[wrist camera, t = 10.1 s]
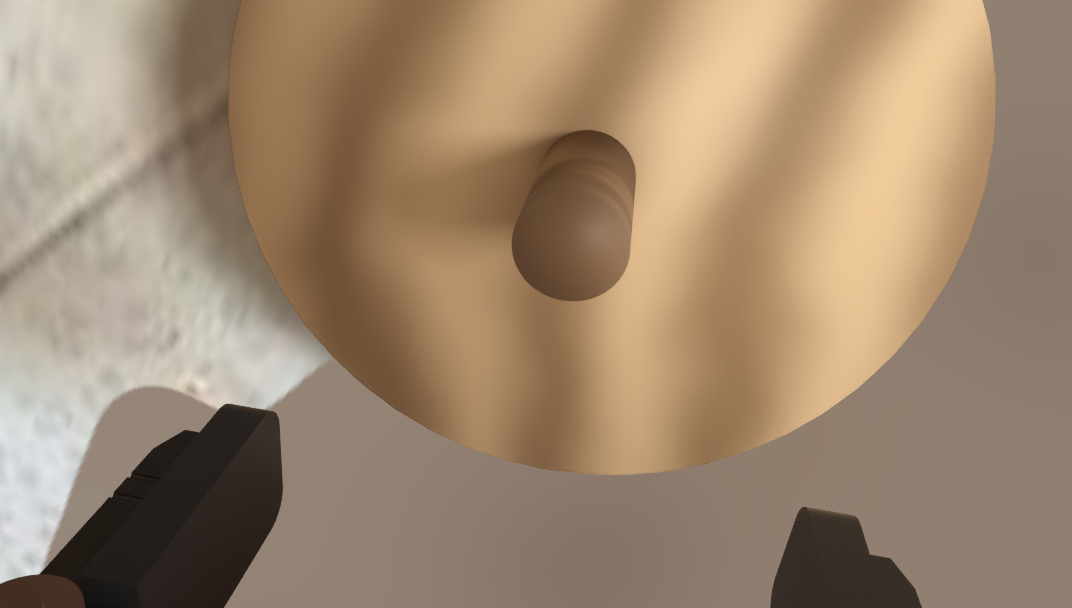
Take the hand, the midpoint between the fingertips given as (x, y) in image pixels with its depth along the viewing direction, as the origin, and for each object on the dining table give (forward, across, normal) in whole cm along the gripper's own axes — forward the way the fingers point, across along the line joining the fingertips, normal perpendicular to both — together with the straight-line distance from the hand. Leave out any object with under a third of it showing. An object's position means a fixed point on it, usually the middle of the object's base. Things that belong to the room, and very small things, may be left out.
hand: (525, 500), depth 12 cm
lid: (+18, 0, 0) cm, 18 cm away
